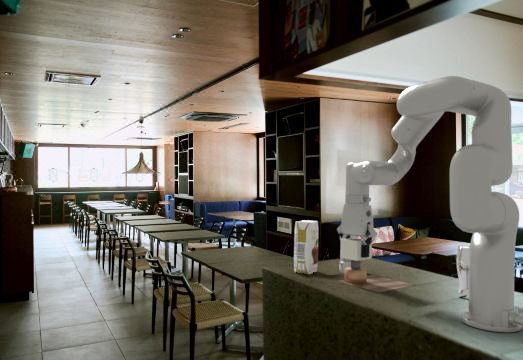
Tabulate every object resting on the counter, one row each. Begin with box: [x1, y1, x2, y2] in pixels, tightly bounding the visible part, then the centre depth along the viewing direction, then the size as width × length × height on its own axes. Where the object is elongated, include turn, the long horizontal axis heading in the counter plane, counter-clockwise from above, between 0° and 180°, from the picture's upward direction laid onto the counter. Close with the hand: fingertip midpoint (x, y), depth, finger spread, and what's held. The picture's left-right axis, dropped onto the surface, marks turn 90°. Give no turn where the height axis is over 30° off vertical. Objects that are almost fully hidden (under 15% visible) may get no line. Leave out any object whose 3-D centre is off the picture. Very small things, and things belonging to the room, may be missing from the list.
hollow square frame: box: [339, 237, 373, 261], centre depth 139 cm, size 7×7×6 cm
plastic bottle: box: [338, 235, 359, 274], centre depth 158 cm, size 6×7×20 cm
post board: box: [337, 260, 415, 293], centre depth 138 cm, size 17×18×13 cm
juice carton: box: [293, 219, 319, 275], centre depth 160 cm, size 8×9×19 cm
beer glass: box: [455, 245, 470, 301], centre depth 128 cm, size 7×7×15 cm
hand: (355, 255), depth 139 cm, fingers closed on hollow square frame, 7 cm apart
